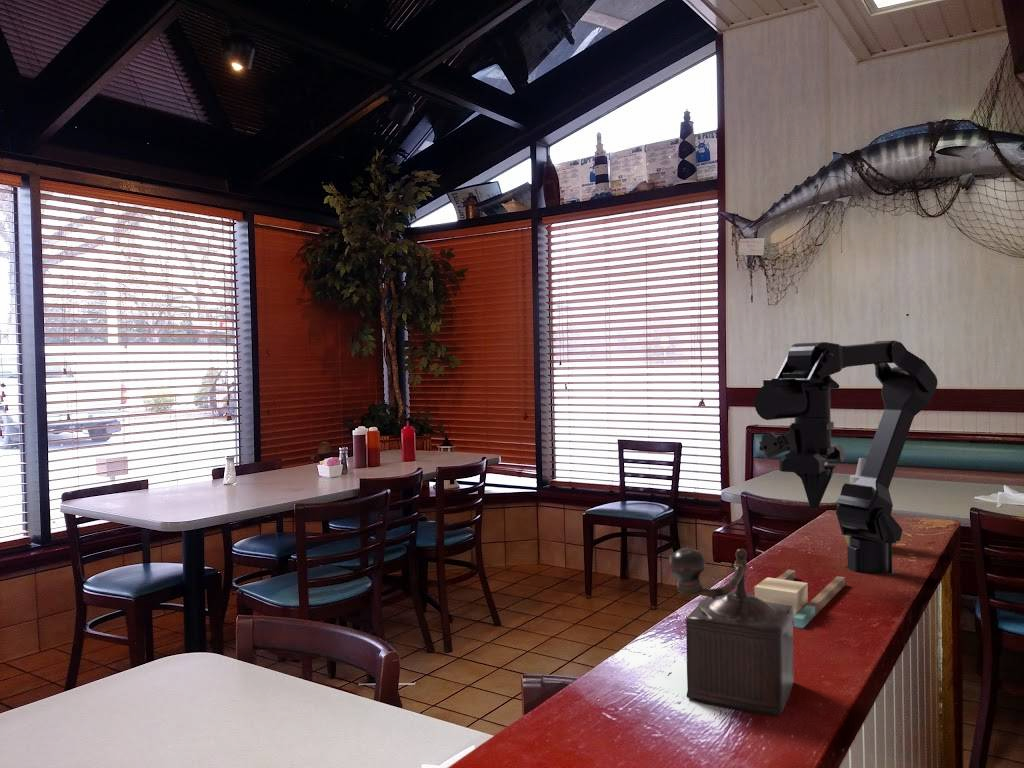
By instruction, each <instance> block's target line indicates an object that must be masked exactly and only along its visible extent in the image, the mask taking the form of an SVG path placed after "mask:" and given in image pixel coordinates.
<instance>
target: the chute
mask: <svg viewBox="0 0 1024 768" xmlns="http://www.w3.org/2000/svg"><path fill="white" fill-rule="evenodd" d="M776 579H783V580H790V581H795V579H796V570H795V569H794V570H793V569H786V570H785V571H784V572H783V573H782V574H781V575H779V576H777V577H776ZM845 586H846V576H838V575H837V576H836V577H835V578H833V579H832V580H831V581H830V582H829V583H828V584H827V585H826V586H825V587H824V588H823V589H822V590H821V591H820V592H819V593H818V594H816V595H815V596H814V598H812V599H811V600H810V601H808V604H807V605H806V606H805V607H804V608H803V609H802V610H801V611H800V612H799V613H798V614H797V615H796V616H795V617H794V620H793V628H799V629H803V628H805V627H806V626H807V625H808V624H809V622H811V621H812V620H813V619H814V617H815V616H817V614H818V613H819V612H820V611H822V609H824V607H825V606H826V605H827V604H828V603H830V601H831V600H832V599H833V598H834V597H835V596H837V594H838V593H839V592H840V591H841V590H842V589H843V588H844V587H845ZM753 596H755V594H754V595H753Z"/></svg>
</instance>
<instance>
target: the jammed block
mask: <svg viewBox="0 0 1024 768" xmlns="http://www.w3.org/2000/svg"><path fill="white" fill-rule="evenodd" d="M776 578H777V577H776ZM776 578H775V577H774V578H773V577H766V578H764V579H763V580H761V581H760V582H759V583H758V584H756V585H754V587H753V588H754V595H755V597H757V598H759V599H761V600H763V601H764V602H771V603H778V604H785V605H792V606H793V621H794V617H795V616H796V615H797V614H798V613H799V612H800V611H801V610H802V609H803V608H804V607H805V606H806V605H807V604H808V603H809V601H808V600H809V596H808V595H809V592H808V590H809V589H808V587H809V586H808V585H809V584H808V582H803V581H797V580H796V581H795V580H793V581H790V580H783V579H776Z"/></svg>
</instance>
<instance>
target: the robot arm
mask: <svg viewBox="0 0 1024 768" xmlns="http://www.w3.org/2000/svg"><path fill="white" fill-rule="evenodd" d="M786 355H787V356H786V358H785V359H784V361H783V363H782V364H781V367H780V369H779V371H778V372H777V374H776V376H775V377H774V378H764V379H763V380H762V381H763V382H762V385H763V386H761V387H760V388H759V389H758V390H757V392H756V394H755V398H754V400H753V403H754V409H755V411H756V413H757V415H758V416H759V417H760V418H762V420H765V421H772V420H773V421H775V420H785V419H794V422H791V423H790V424H789V431H788V432H785V433H783V434H779V435H777V434H776V433H775V432H774V431H771V432H768V433H765V434H762V435H761V441H759V442H758V443H759V447H758V449H759V451H760V452H763V454H764V456H765V459H770V458H773V457H775V456H778V455H780V454H783V453H785V452H788V453H786V454H783V456H782V457H781V458H780V459H779V472H783V473H794V474H795V475H796V476H797V477H799V478H800V479H801V482H802V485H803V489H804V491H805V494H806V498H807V502H808V505H809V508H810V509H811V510H813V509H814V510H816V509H818V508H819V507H820V504H821V502H822V500H823V498H824V495H825V493H826V490H827V487H828V486H829V484H830V481H831V480H832V479H831V478H832V477H833V474H834V473H835V471H836V469H837V465H828V461H826V460H836V461H837V462H841V463H842V462H843V461H845V449H844V448H843V446H841V445H840V444H839V443H832V429H834V428H835V426H834V423H835V422H834V421H831V416H832V415H831V390H837V389H839V388H840V385H839V383H838V382H837V381H836V380H834V379H833V378H832V377H831V376H832V375H834V374H837V373H839V372H841V371H842V370H843V369H845V368H848V367H857V366H867V365H874V371H875V374H874V375H875V377H876V379H877V380H878V381H879V382H880V384H881V385H882V386H881V387H882V388H881V391H880V394H881V398H882V401H883V405H884V409H883V412H882V415H881V418H880V421H879V422H878V425H877V426H878V427H877V429H876V431H875V434H874V437H873V441H872V443H871V444H870V445H871V446H870V447H869V451H868V454H867V456H866V458H865V459H866V462H865V464H864V467H863V470H862V473H861V475H860V478H859V479H858V480H857V481H856V482H855V483H853V484H851V483H850V482H844V483H843V485H842V486H841V491H840V494H839V497H838V499H837V500H836V501H835V504H837V506H836V510H835V515H836V517H837V521H838V524H839V528H840V531H841V535H842V536H844V535H848V536H852V537H850V545H849V546H848V545H847V565H844V568H845V569H849V570H851V571H853V572H855V573H868V574H892V575H899V571H895V570H893V544H896V543H897V542H901V538H902V534H903V528H902V527H901V526H900V525H899V522H897V520H896V519H895V518H894V516H893V515H892V512H893V511H892V510H893V507H894V504H893V501H892V497H891V493H890V485H891V482H892V481H893V477H894V474H895V471H896V468H897V466H898V463H899V460H900V458H901V455H902V451H903V449H904V446H905V443H906V440H907V437H908V435H909V433H910V431H911V430H910V429H911V426H912V423H913V421H914V418H915V416H916V415H918V413H920V412H921V411H922V410H924V409H925V408H926V407H927V406H928V405H929V404H930V402H931V400H932V398H933V397H934V394H935V392H936V391H937V388H938V378H937V376H936V374H935V373H934V371H933V369H931V367H930V366H929V365H928V364H927V362H926V361H925V360H923V359H922V358H921V357H919V356H917V355H915V354H914V353H912V352H911V351H909V350H908V349H907V348H906V346H905V345H904V344H903V343H902V342H901V341H897V340H877V341H873V342H868V343H858V344H848V345H841V344H839V343H835V342H828V341H820V342H816V341H815V342H800V343H799V342H798V343H794V344H792V345H791V346H790V349H789V350H788V353H787V354H786ZM890 364H895V366H894V367H891V366H890Z"/></svg>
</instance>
